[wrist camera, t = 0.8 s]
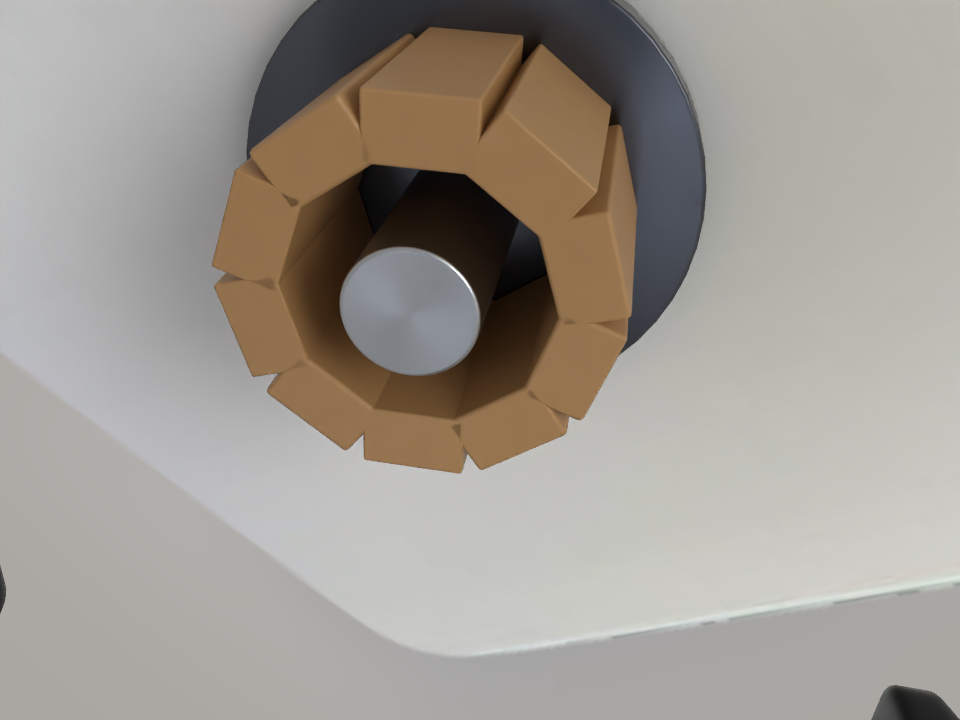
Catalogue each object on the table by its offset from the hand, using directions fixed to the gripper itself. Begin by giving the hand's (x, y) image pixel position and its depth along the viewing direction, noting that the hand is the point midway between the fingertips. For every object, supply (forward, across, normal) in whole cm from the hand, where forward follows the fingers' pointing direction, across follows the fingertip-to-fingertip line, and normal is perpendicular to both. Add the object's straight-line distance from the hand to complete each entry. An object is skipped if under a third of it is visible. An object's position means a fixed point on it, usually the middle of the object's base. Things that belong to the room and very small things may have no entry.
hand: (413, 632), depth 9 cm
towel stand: (+13, +2, 0) cm, 13 cm away
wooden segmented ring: (+12, +2, 0) cm, 12 cm away
